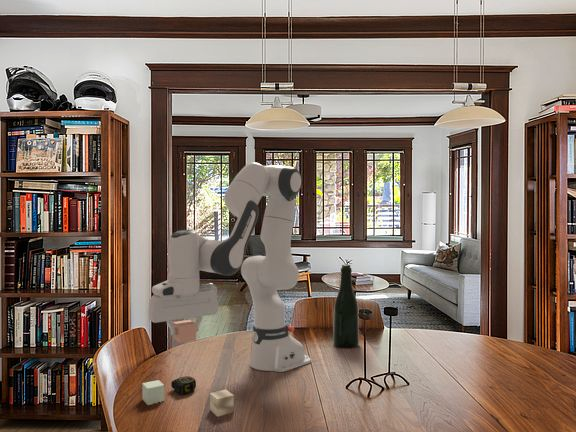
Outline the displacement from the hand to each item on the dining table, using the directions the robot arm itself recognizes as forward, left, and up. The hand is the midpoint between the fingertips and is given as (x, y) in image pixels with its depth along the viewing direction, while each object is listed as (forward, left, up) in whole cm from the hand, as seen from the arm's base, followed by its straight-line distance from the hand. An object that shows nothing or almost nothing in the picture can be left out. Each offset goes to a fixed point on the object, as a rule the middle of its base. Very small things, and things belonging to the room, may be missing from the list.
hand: (184, 333), depth 144 cm
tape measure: (-3, -9, -22) cm, 24 cm away
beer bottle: (-76, -19, -21) cm, 81 cm away
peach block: (0, 0, -2) cm, 2 cm away
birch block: (-7, +10, -21) cm, 24 cm away
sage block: (+7, -8, -21) cm, 24 cm away
